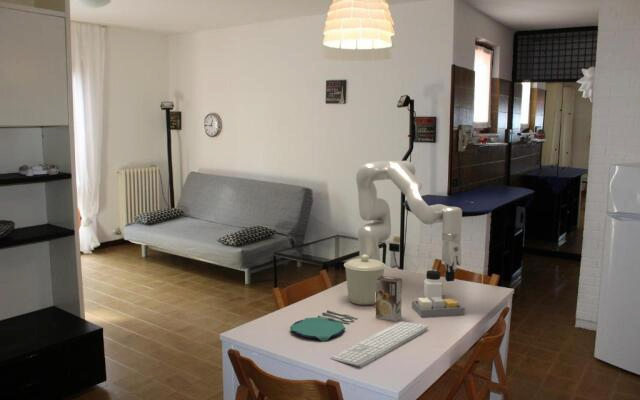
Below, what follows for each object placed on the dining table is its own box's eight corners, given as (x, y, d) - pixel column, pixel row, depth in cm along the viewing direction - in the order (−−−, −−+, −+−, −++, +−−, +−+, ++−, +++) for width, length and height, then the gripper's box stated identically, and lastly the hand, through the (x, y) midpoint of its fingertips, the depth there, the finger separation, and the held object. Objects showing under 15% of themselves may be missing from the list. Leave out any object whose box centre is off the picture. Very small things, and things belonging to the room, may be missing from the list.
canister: (373, 293, 255) (374, 248, 252) (392, 305, 238) (393, 257, 235) (337, 297, 248) (337, 251, 246) (354, 310, 232) (354, 261, 229)
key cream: (422, 309, 227) (422, 302, 226) (417, 304, 232) (417, 298, 232) (431, 308, 227) (431, 301, 227) (426, 304, 233) (427, 297, 232)
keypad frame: (421, 317, 224) (421, 310, 223) (411, 307, 235) (412, 300, 235) (463, 315, 226) (464, 308, 226) (452, 305, 238) (452, 298, 238)
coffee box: (402, 316, 224) (402, 278, 222) (396, 321, 219) (397, 282, 216) (380, 313, 229) (381, 275, 226) (374, 318, 223) (375, 279, 221)
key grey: (435, 308, 227) (435, 301, 227) (430, 304, 233) (430, 297, 233) (444, 308, 228) (444, 301, 228) (439, 303, 234) (439, 296, 233)
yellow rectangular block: (448, 310, 228) (448, 303, 228) (443, 306, 234) (443, 299, 234) (457, 309, 229) (457, 302, 229) (452, 305, 235) (452, 298, 234)
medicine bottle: (442, 299, 247) (443, 273, 245) (426, 299, 247) (426, 272, 245) (439, 294, 254) (440, 268, 252) (423, 294, 254) (424, 268, 252)
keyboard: (400, 323, 218) (400, 317, 218) (428, 331, 210) (428, 325, 210) (328, 359, 185) (328, 353, 185) (358, 370, 177) (359, 363, 177)
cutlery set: (280, 334, 206) (280, 328, 206) (324, 312, 231) (324, 307, 231) (325, 346, 196) (325, 340, 195) (366, 322, 221) (366, 316, 220)
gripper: (467, 240, 221) (465, 285, 223) (453, 233, 235) (451, 275, 238) (449, 241, 219) (448, 286, 222) (436, 233, 234) (434, 276, 237)
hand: (449, 280), depth 230 cm, fingers closed
